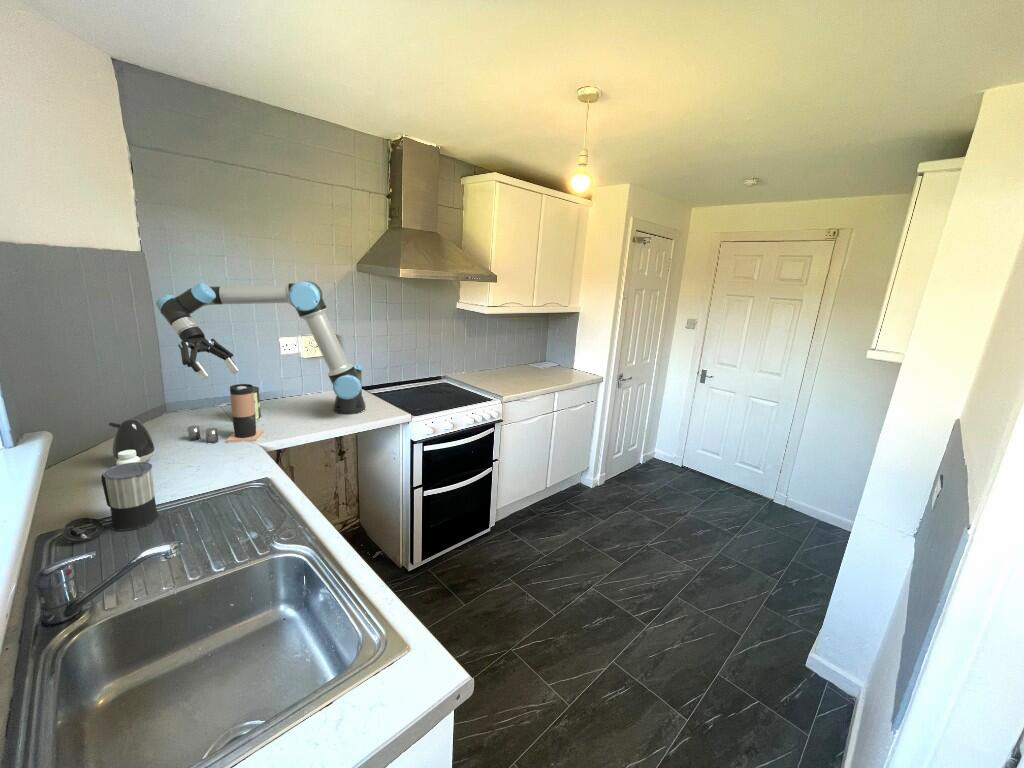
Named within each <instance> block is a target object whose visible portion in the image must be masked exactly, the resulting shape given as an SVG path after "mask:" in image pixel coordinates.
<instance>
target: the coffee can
mask: <svg viewBox="0 0 1024 768" xmlns="http://www.w3.org/2000/svg"><path fill="white" fill-rule="evenodd" d="M252 386H253V394H254V405H255V418H256V422H259V421H261V419H262V414H261V413H262V411H261V402H260V401H261V400H260V387H259V386H255V385H252Z"/></svg>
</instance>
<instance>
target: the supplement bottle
mask: <svg viewBox="0 0 1024 768" xmlns="http://www.w3.org/2000/svg"><path fill="white" fill-rule="evenodd" d="M118 458H119V460H116V462H115V464H116V465H115V466H118V465H121V464H125V463H132V462H141V460H140V458H139V457H138V456H136V451H135V450H125V451H121V452H119V453H118Z"/></svg>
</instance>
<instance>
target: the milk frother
mask: <svg viewBox="0 0 1024 768" xmlns="http://www.w3.org/2000/svg"><path fill="white" fill-rule="evenodd" d="M152 468H153V465H152V463H150V462H132V463H125V464H121V465H118V466H117V465H115V466H112V467H110V468H108V469H106V470H104V472H102V473H101V476H100V477H101V485H102V489H103V492H104V497H105V501H106V505H107V506H108V508H110V513H111V520H104V519H101V518H100V519H99V518H95V517H80V518H79V517H78V518H75V519H72V520H70V521H69V522H67V523H66V524H65V525H64V527H63V528H62V533H61V536H62V538H63V540H65V541H66V542H69V543H74V544H75V543H84V542H88V541H91V540H93V539H96V538H97V537H99V536H100V535H101V534H102V533H103V531H104V525H103V523H107V524H108V523H109V524H111V529H113V530H115V531H118V532H124V531H132V530H133V531H134V530H137V529H141V528H144V527H146V526H149V525H151V524H152V523H154V522H155V521H157V520H158V518H159V516H160V514H159V512H158V509H157V504H156V499H155V498H156V497H155V496H156V495H155V488H154V480H153V474H152V473H153V471H152ZM83 524H90V525H93V526H95V528H96V530H94V532H92V533H91V534H88V535H87V530H83V529H80V528H78V527H76V526H78V525H83Z"/></svg>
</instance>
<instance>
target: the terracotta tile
mask: <svg viewBox="0 0 1024 768" xmlns="http://www.w3.org/2000/svg"><path fill="white" fill-rule="evenodd" d="M264 433H265V430H262V429H259V430H258V429H256V435H254V436H252V437H248V438H237V437H235V433H234V432H233V433H232V434H231V435H230V436H229V437H228V438H226V442H225V443H242V442H241V441H256V440H257V439H258V438H259V437H261V436H263V434H264ZM259 439H260V438H259ZM259 439H258V440H259ZM258 440H257V441H258ZM257 441H256V442H257Z"/></svg>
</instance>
